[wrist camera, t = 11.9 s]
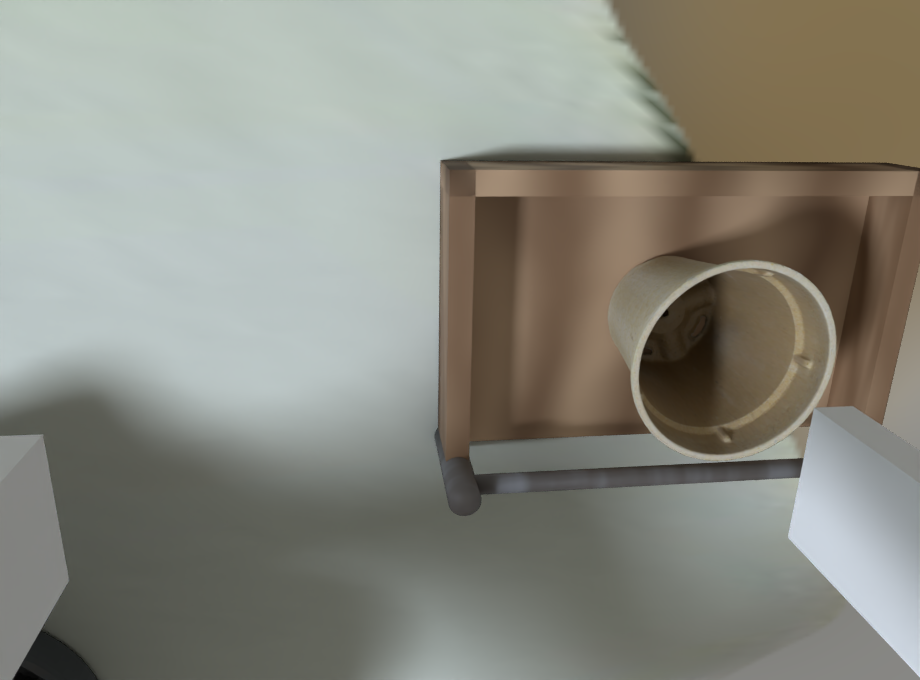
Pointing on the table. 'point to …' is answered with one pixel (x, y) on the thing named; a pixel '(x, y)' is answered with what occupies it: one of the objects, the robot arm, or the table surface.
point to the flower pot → (722, 352)
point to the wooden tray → (635, 242)
